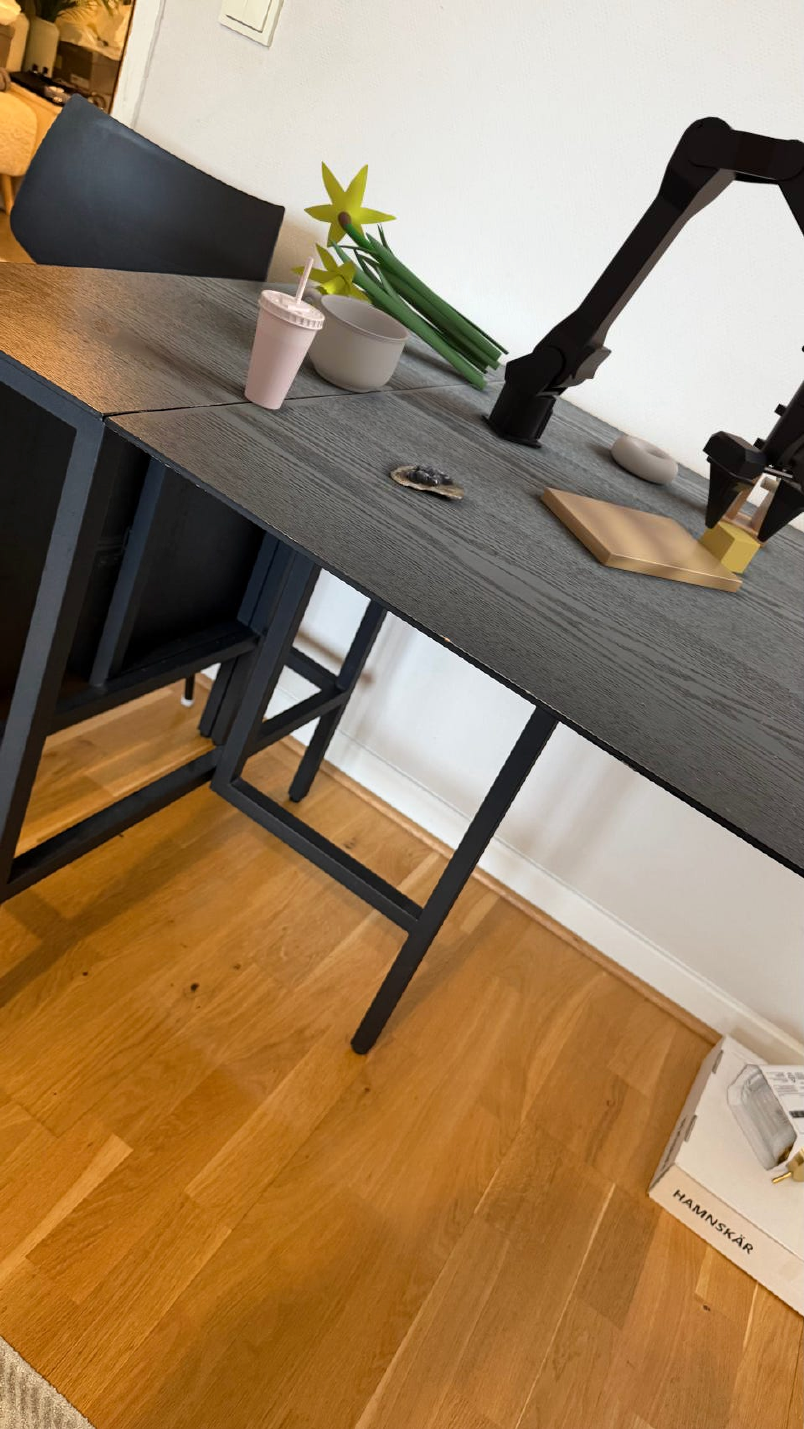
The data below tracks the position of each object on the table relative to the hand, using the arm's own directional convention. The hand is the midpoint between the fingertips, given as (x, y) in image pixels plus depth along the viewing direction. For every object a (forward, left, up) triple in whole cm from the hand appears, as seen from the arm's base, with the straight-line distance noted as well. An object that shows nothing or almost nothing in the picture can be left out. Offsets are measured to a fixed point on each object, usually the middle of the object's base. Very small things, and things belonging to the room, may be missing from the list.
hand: (734, 534), depth 112 cm
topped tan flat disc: (-41, +2, -4) cm, 41 cm away
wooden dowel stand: (+15, +13, -4) cm, 20 cm away
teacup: (-42, +29, -4) cm, 51 cm away
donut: (+6, +26, -4) cm, 27 cm away
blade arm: (+13, +10, +5) cm, 17 cm away
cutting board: (-14, -1, -4) cm, 15 cm away
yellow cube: (0, 0, -4) cm, 4 cm away
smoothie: (-55, +14, -4) cm, 57 cm away
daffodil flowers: (-25, +52, -4) cm, 58 cm away
